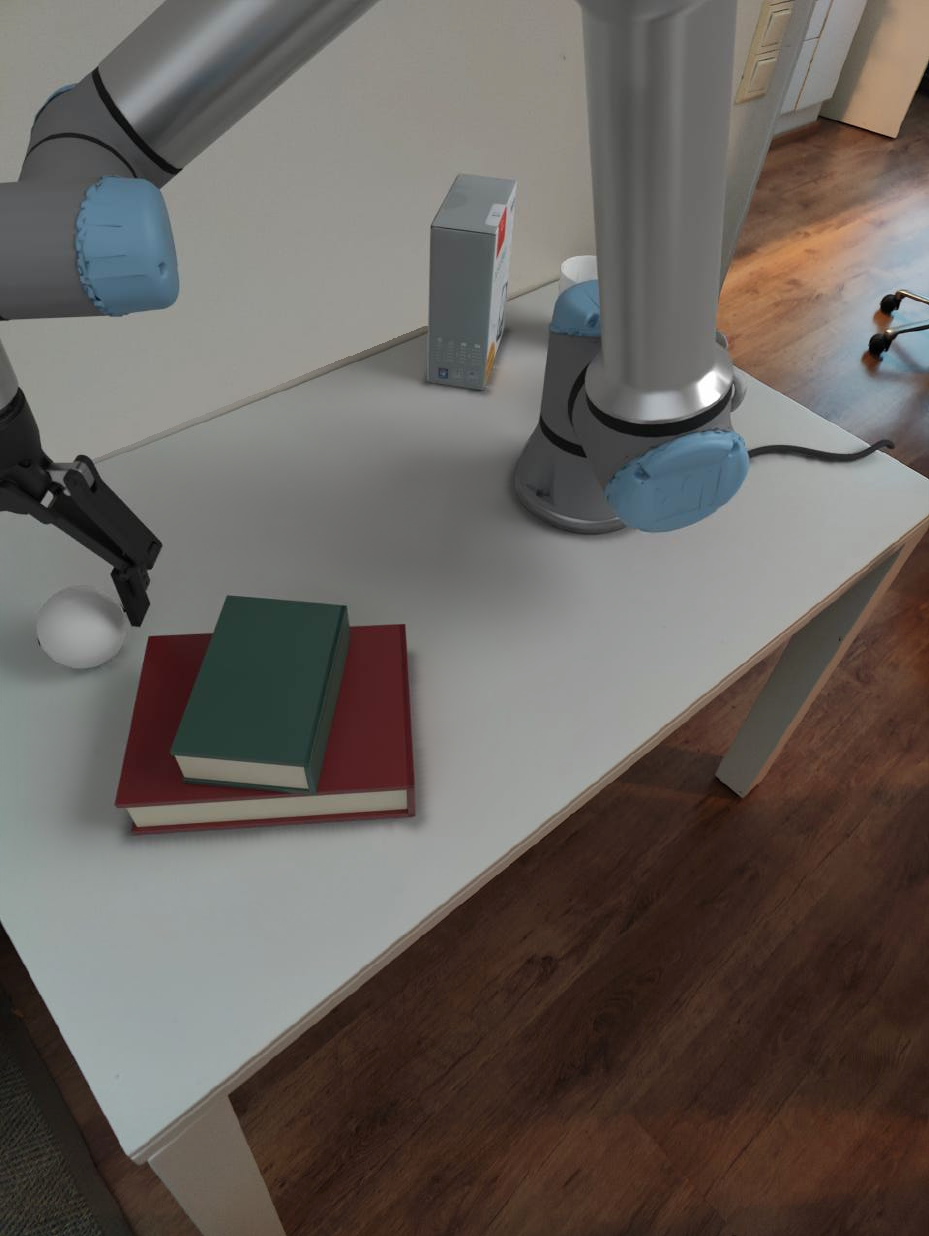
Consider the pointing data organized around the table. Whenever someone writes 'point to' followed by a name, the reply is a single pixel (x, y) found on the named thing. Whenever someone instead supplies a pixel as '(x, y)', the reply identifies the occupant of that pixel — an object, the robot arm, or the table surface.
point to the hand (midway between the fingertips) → (64, 608)
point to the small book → (265, 696)
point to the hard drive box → (469, 279)
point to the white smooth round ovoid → (81, 627)
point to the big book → (348, 790)
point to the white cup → (577, 271)
